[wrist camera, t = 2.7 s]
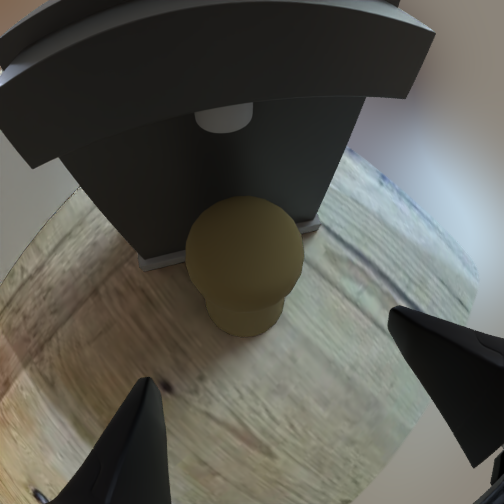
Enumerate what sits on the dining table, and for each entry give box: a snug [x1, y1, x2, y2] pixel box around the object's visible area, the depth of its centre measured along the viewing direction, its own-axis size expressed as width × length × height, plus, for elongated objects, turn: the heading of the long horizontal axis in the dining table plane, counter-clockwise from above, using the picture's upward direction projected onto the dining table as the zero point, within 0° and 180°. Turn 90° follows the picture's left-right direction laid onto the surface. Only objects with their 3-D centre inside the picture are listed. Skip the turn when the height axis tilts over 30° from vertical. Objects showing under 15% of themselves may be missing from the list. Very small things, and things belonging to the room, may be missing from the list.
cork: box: [185, 196, 304, 337], centre depth 16 cm, size 6×6×11 cm
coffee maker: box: [0, 0, 436, 272], centre depth 14 cm, size 10×15×20 cm, turn 105°
